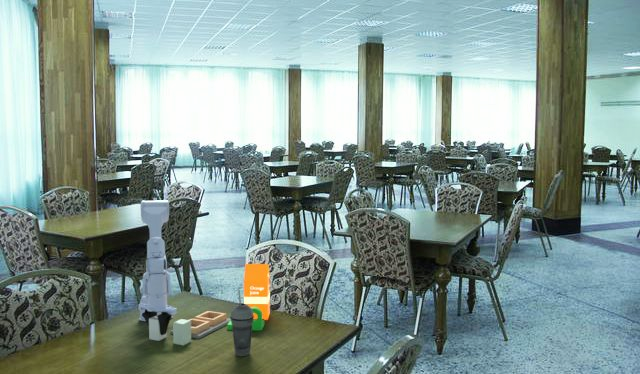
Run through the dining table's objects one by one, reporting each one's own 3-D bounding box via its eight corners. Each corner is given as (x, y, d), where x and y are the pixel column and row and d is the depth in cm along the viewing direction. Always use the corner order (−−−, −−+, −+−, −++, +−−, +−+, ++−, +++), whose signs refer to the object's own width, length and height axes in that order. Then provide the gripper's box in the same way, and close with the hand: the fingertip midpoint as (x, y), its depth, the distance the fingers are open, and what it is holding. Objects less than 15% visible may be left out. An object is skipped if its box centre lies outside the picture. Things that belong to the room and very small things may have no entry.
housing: (170, 333, 196) (170, 325, 196) (205, 317, 215) (205, 309, 214) (199, 338, 192) (199, 330, 191) (232, 321, 210) (232, 313, 209)
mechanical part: (264, 325, 206) (264, 303, 205) (261, 331, 200) (261, 308, 199) (231, 324, 207) (231, 302, 206) (227, 330, 201) (227, 307, 200)
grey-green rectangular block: (149, 339, 191) (148, 318, 191) (157, 335, 195) (156, 315, 194) (158, 340, 190) (158, 320, 189) (166, 337, 193) (166, 316, 193)
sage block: (173, 343, 187) (173, 322, 187) (181, 339, 191) (180, 319, 190) (183, 345, 186) (183, 324, 185) (191, 341, 189) (190, 320, 189)
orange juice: (267, 319, 212) (267, 266, 210) (243, 319, 212) (243, 266, 210) (270, 313, 220) (269, 261, 218) (246, 313, 220) (246, 261, 218)
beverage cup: (244, 359, 174) (243, 294, 172) (225, 354, 178) (224, 290, 176) (259, 351, 180) (258, 289, 178) (240, 347, 184) (240, 285, 182)
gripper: (131, 293, 190) (132, 333, 192) (166, 298, 184) (167, 340, 186) (146, 288, 197) (147, 327, 198) (180, 293, 191) (181, 333, 192)
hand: (158, 333), depth 192 cm, fingers closed on grey-green rectangular block, 4 cm apart
